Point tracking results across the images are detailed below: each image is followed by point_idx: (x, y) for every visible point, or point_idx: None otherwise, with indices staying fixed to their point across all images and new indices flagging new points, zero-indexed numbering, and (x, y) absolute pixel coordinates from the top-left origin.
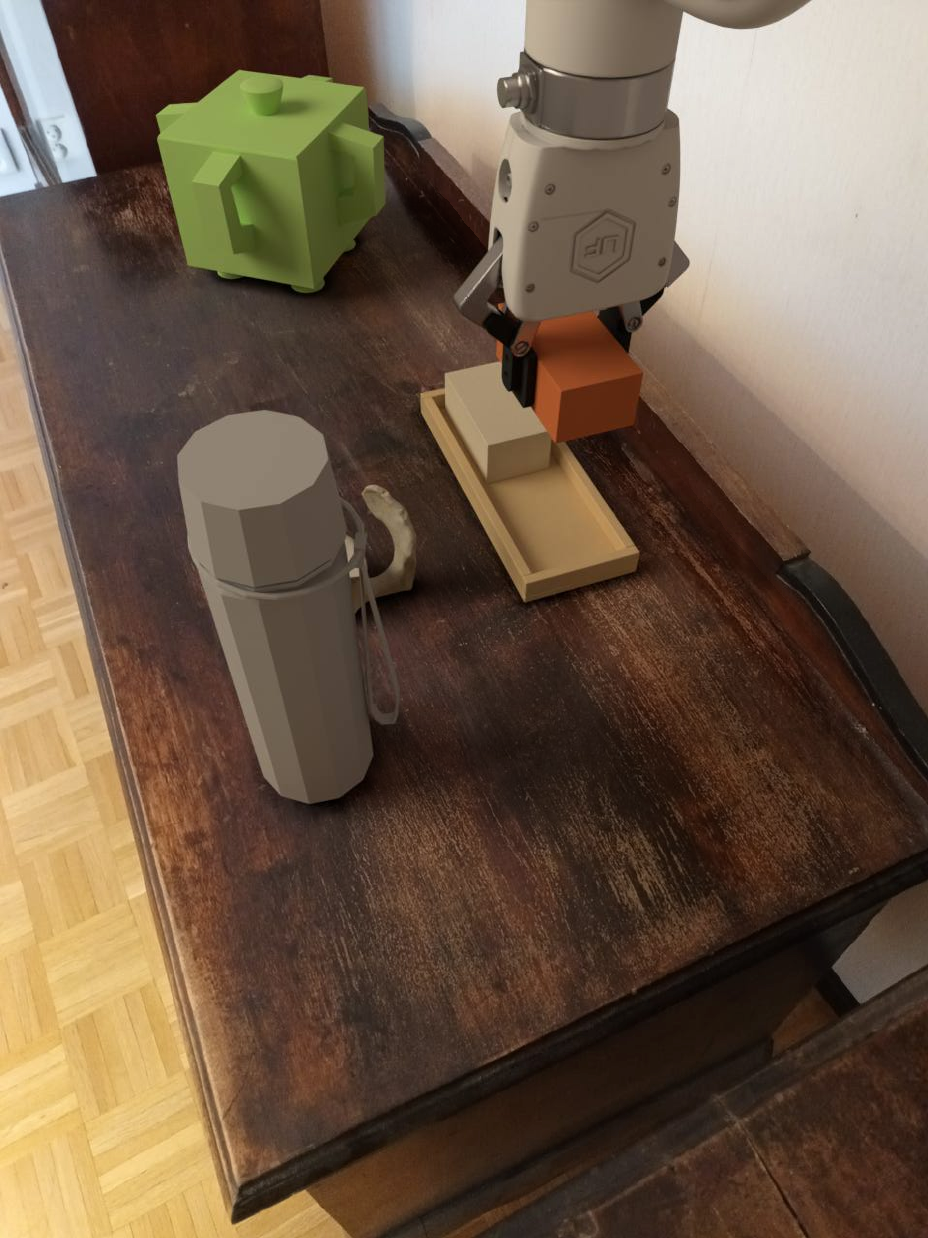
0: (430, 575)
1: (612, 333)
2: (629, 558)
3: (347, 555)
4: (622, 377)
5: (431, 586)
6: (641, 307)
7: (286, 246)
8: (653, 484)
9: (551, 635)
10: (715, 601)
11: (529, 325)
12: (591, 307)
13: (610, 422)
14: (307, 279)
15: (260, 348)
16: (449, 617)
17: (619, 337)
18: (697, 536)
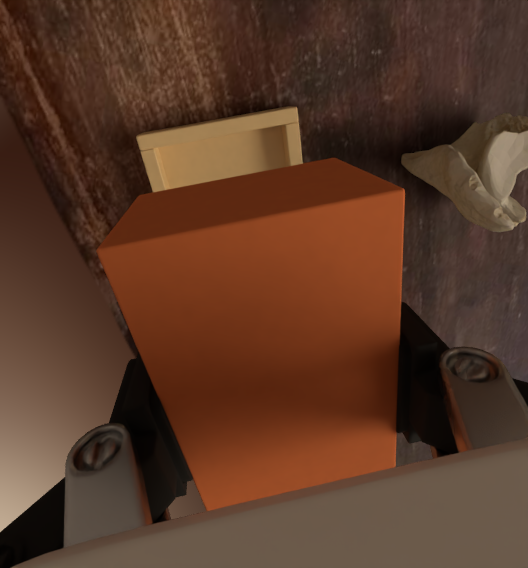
0: (376, 171)
1: (168, 422)
2: (151, 132)
3: (502, 169)
4: (178, 233)
5: (381, 155)
6: (63, 507)
7: None
8: (97, 272)
9: (271, 40)
10: (36, 53)
11: (502, 428)
12: (339, 507)
13: (201, 188)
14: None
15: (424, 455)
16: (377, 101)
17: (150, 407)
18: (50, 180)
